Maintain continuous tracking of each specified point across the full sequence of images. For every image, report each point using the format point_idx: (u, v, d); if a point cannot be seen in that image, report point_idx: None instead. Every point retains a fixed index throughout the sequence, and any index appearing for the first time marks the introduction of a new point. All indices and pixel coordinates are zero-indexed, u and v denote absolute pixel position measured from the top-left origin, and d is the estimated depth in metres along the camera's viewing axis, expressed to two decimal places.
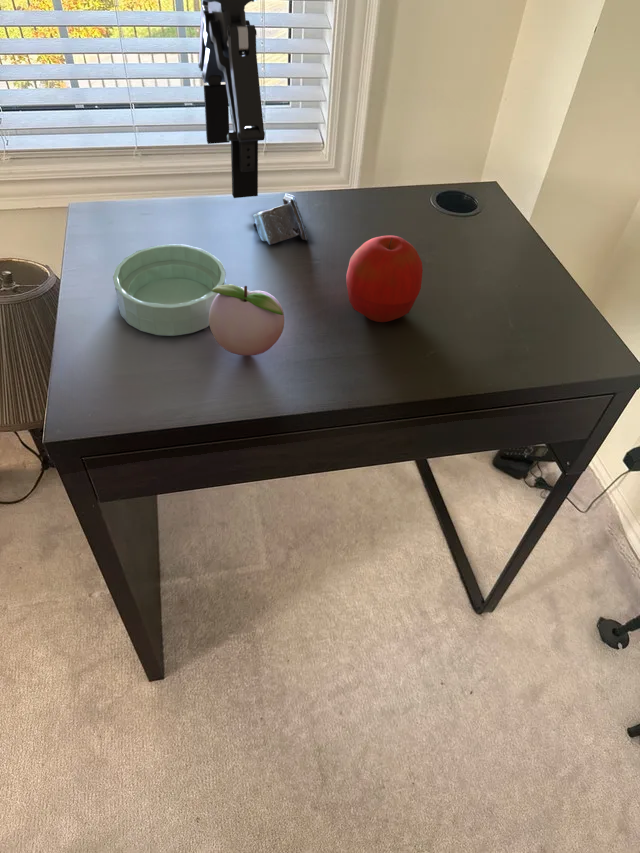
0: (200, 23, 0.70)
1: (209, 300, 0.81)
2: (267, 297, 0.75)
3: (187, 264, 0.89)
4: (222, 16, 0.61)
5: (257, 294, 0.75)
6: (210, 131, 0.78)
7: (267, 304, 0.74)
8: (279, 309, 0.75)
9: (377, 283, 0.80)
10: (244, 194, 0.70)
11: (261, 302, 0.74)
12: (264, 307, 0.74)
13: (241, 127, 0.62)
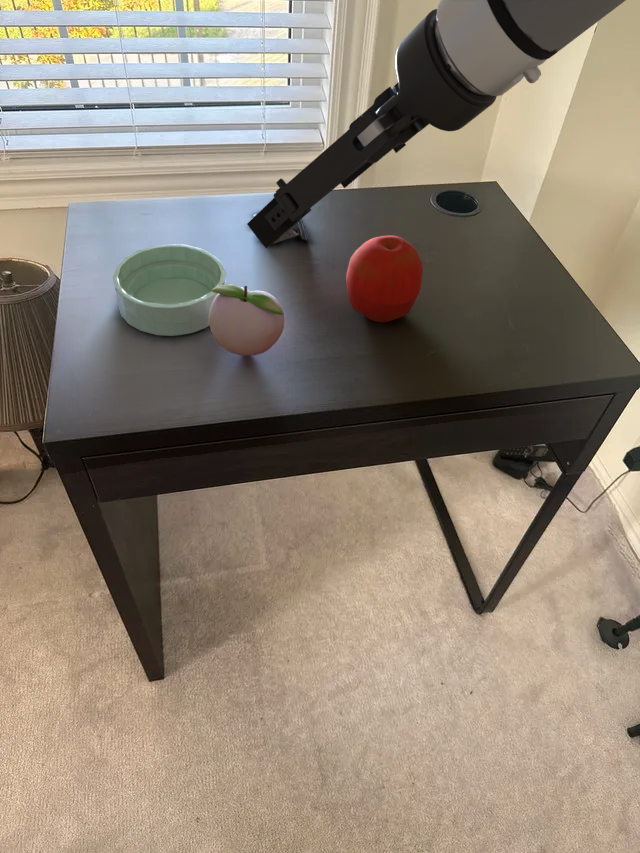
0: None
1: (209, 300, 0.81)
2: (267, 297, 0.75)
3: (187, 264, 0.89)
4: (392, 96, 0.47)
5: (257, 294, 0.75)
6: None
7: (267, 304, 0.74)
8: (279, 309, 0.75)
9: (377, 283, 0.80)
10: (257, 233, 0.57)
11: (261, 302, 0.74)
12: (264, 307, 0.74)
13: (284, 188, 0.49)
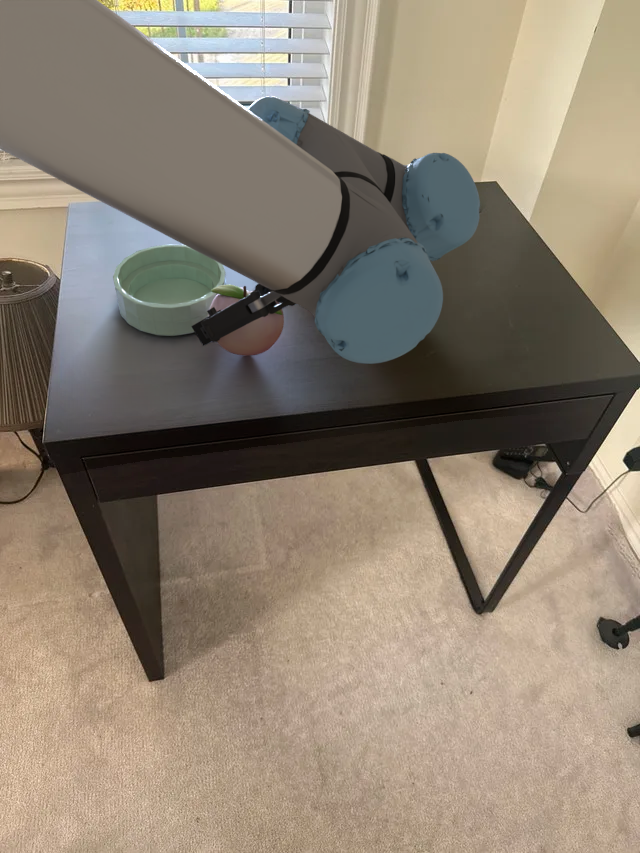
0: None
1: (209, 300, 0.81)
2: None
3: (187, 264, 0.89)
4: None
5: None
6: None
7: None
8: None
9: None
10: (197, 334, 0.77)
11: None
12: None
13: (206, 321, 0.68)
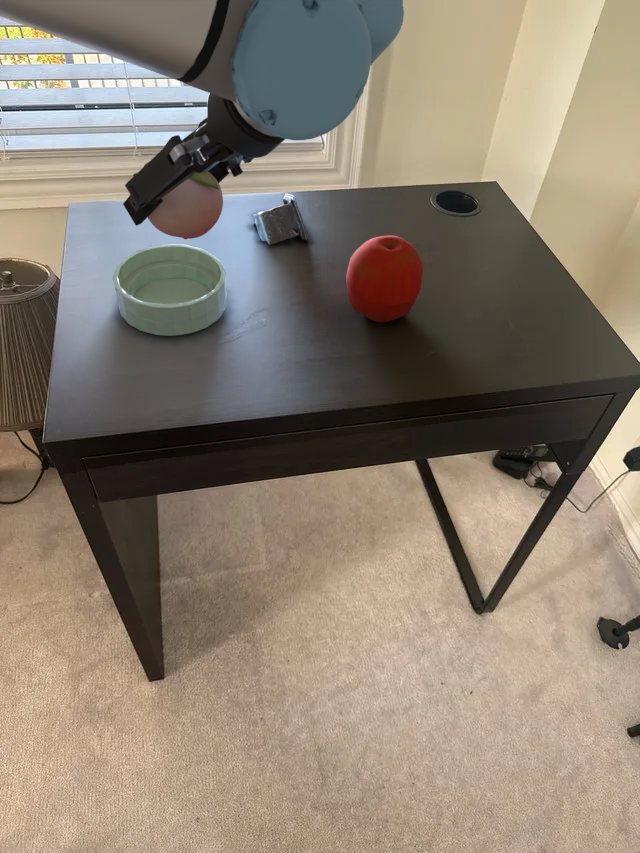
0: None
1: (209, 300, 0.81)
2: None
3: (187, 264, 0.89)
4: None
5: None
6: None
7: (201, 176, 0.70)
8: (214, 183, 0.70)
9: (377, 283, 0.80)
10: (129, 212, 0.72)
11: (194, 174, 0.70)
12: (197, 179, 0.69)
13: (130, 182, 0.64)
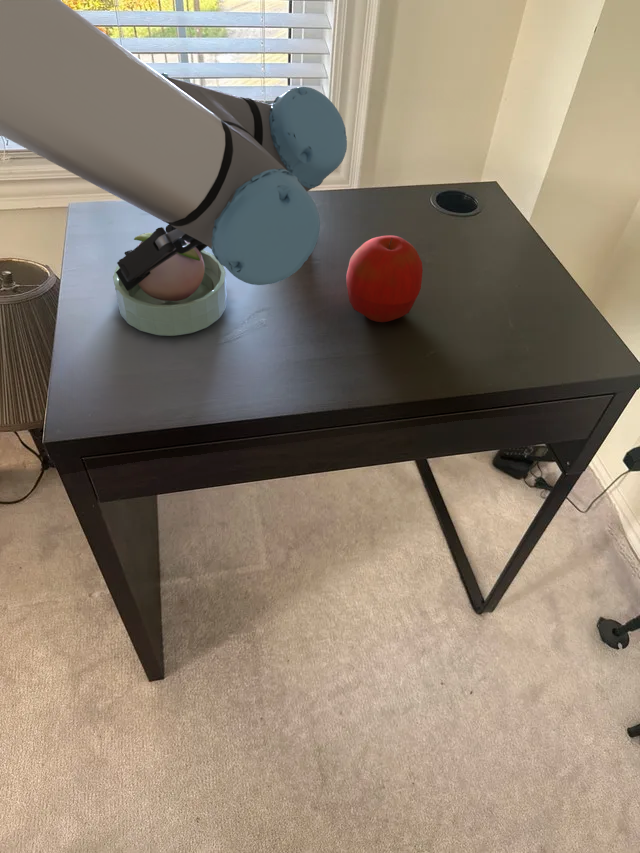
0: None
1: (209, 300, 0.81)
2: None
3: None
4: None
5: None
6: None
7: None
8: (196, 255, 0.80)
9: (377, 283, 0.80)
10: (121, 279, 0.82)
11: None
12: None
13: (121, 261, 0.73)
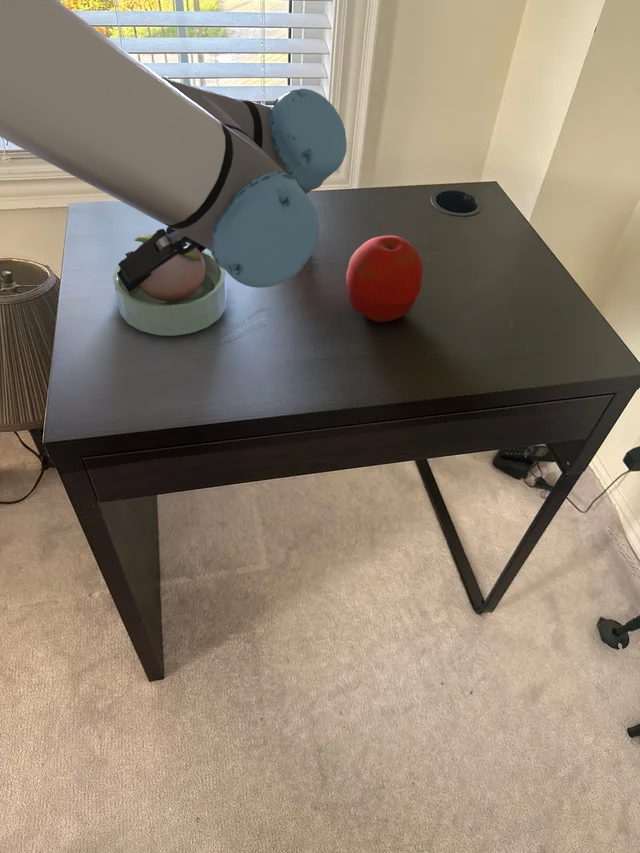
0: None
1: (209, 300, 0.81)
2: None
3: None
4: None
5: None
6: None
7: None
8: (197, 256, 0.80)
9: (377, 283, 0.80)
10: (122, 280, 0.82)
11: None
12: None
13: (122, 262, 0.73)
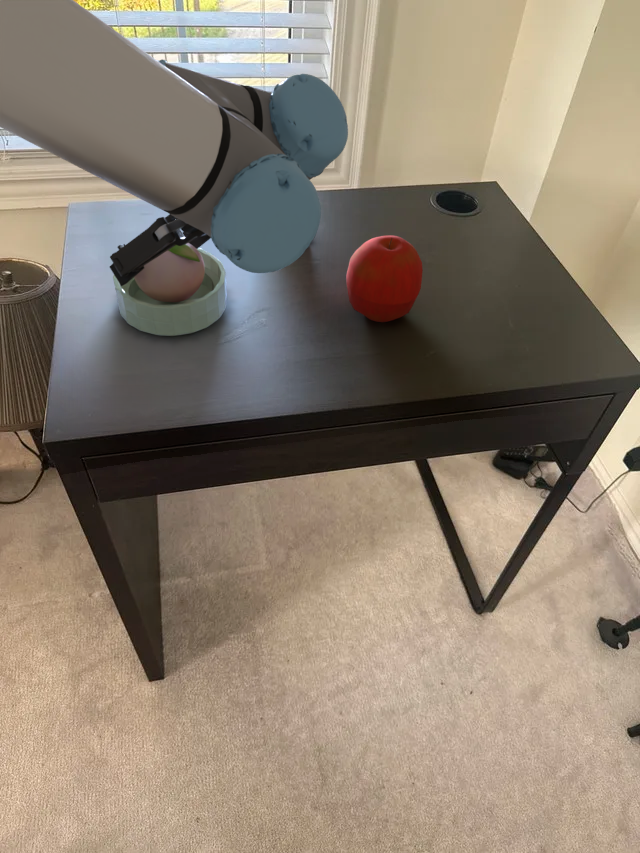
0: None
1: (209, 300, 0.81)
2: (184, 245, 0.80)
3: None
4: None
5: None
6: None
7: (183, 251, 0.79)
8: (195, 256, 0.80)
9: (377, 283, 0.80)
10: (115, 274, 0.80)
11: (178, 249, 0.79)
12: (180, 254, 0.79)
13: (115, 254, 0.72)
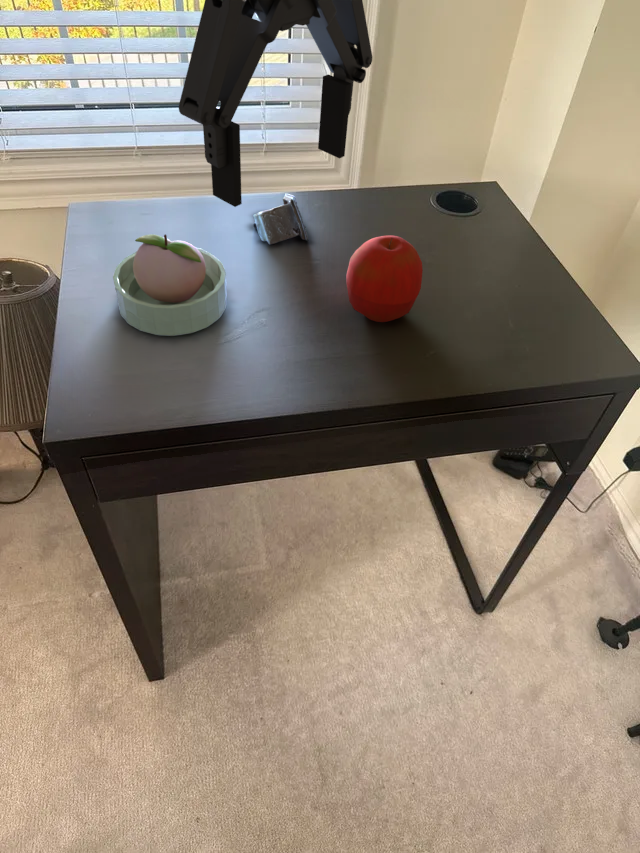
0: None
1: (209, 300, 0.81)
2: (186, 245, 0.80)
3: None
4: None
5: (177, 243, 0.80)
6: (322, 134, 0.61)
7: (185, 252, 0.79)
8: (197, 257, 0.80)
9: (377, 283, 0.80)
10: (222, 196, 0.54)
11: (180, 250, 0.79)
12: (182, 254, 0.79)
13: (183, 96, 0.47)
